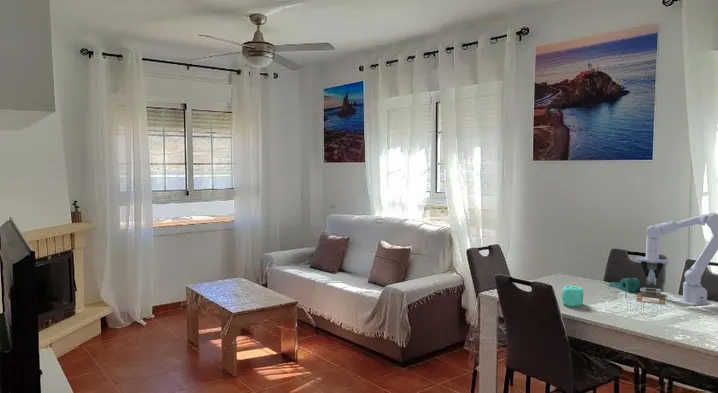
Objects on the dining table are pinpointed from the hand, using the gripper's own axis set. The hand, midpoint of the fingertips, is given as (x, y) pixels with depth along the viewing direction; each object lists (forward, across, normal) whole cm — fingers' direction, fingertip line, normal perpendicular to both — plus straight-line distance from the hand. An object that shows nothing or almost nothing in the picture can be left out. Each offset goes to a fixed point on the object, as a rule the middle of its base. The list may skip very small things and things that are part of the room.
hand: (651, 277), depth 251 cm
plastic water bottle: (+3, 0, 0) cm, 3 cm away
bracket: (+11, +13, -12) cm, 21 cm away
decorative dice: (+11, +32, +30) cm, 45 cm away
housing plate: (+10, 0, +3) cm, 11 cm away
